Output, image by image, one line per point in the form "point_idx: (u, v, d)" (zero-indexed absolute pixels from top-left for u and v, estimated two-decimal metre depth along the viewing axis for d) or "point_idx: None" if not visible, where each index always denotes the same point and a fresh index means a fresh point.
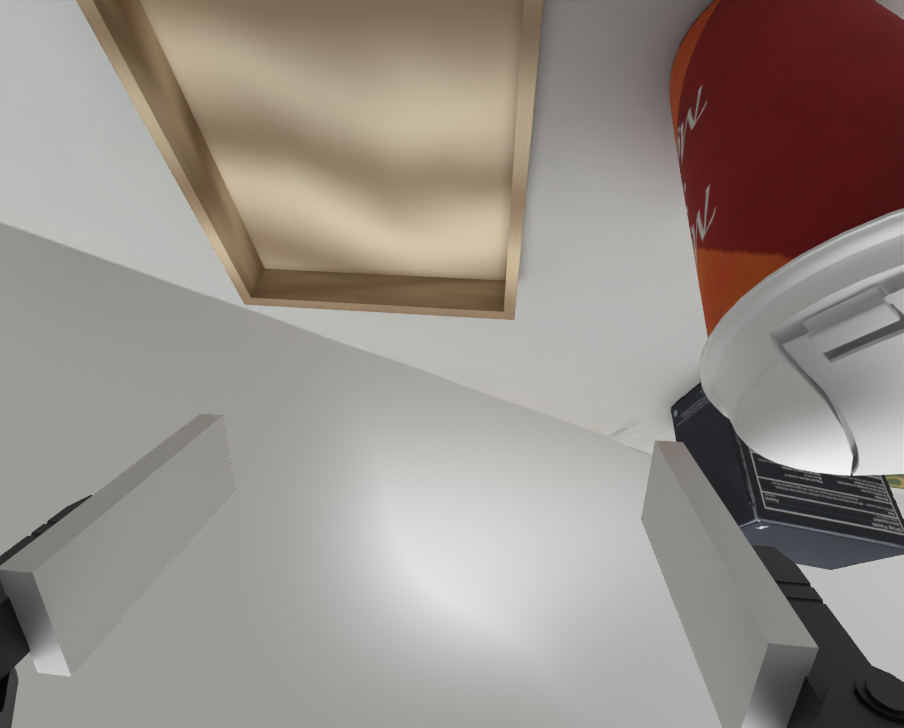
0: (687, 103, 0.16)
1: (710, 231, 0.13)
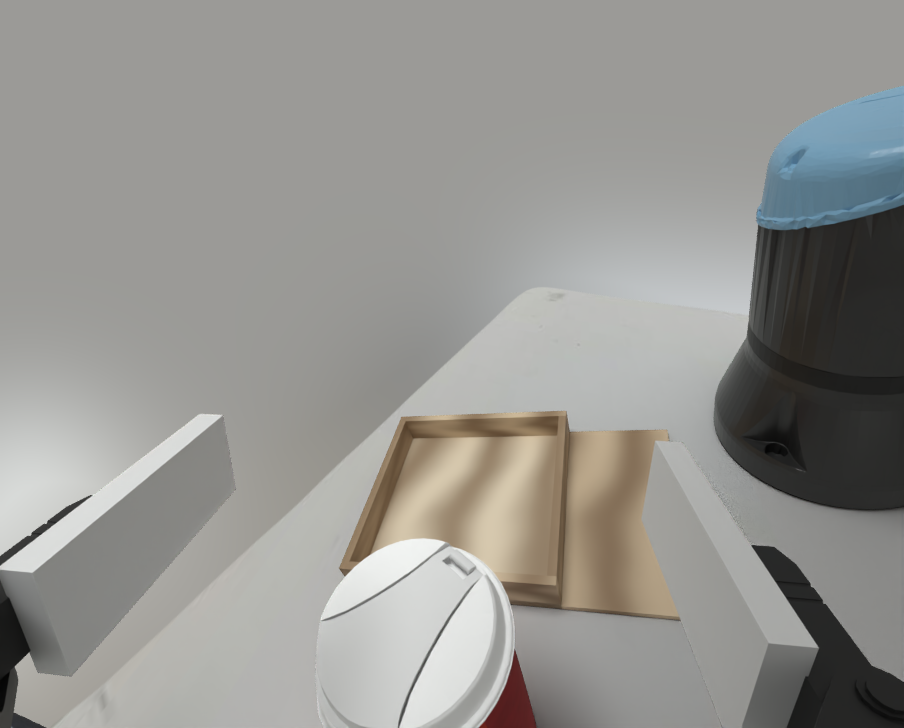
0: None
1: None
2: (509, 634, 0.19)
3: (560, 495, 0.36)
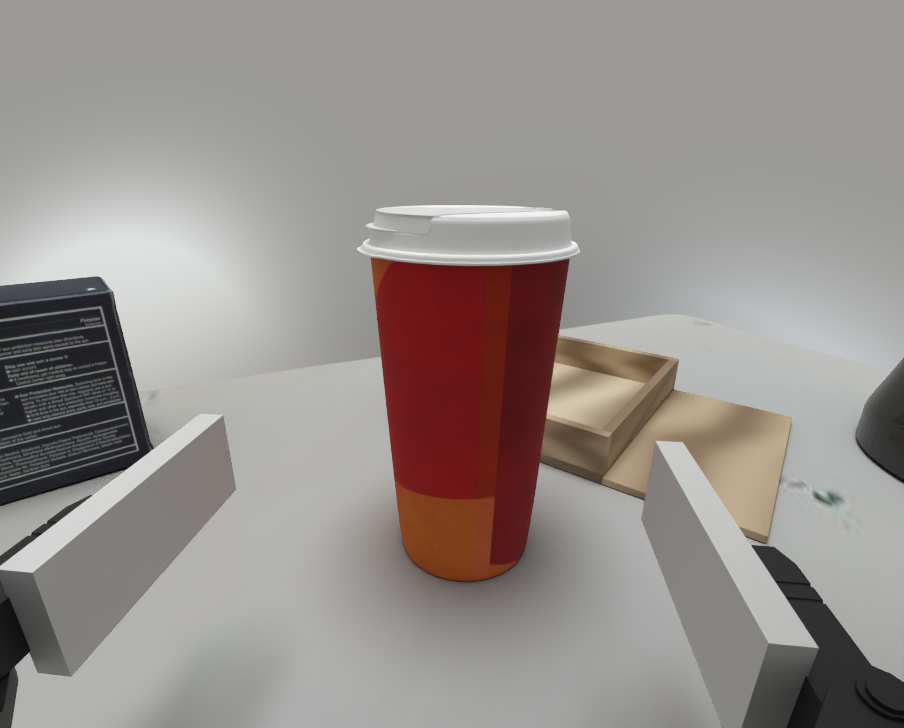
0: None
1: None
2: (570, 248, 0.17)
3: (644, 396, 0.32)
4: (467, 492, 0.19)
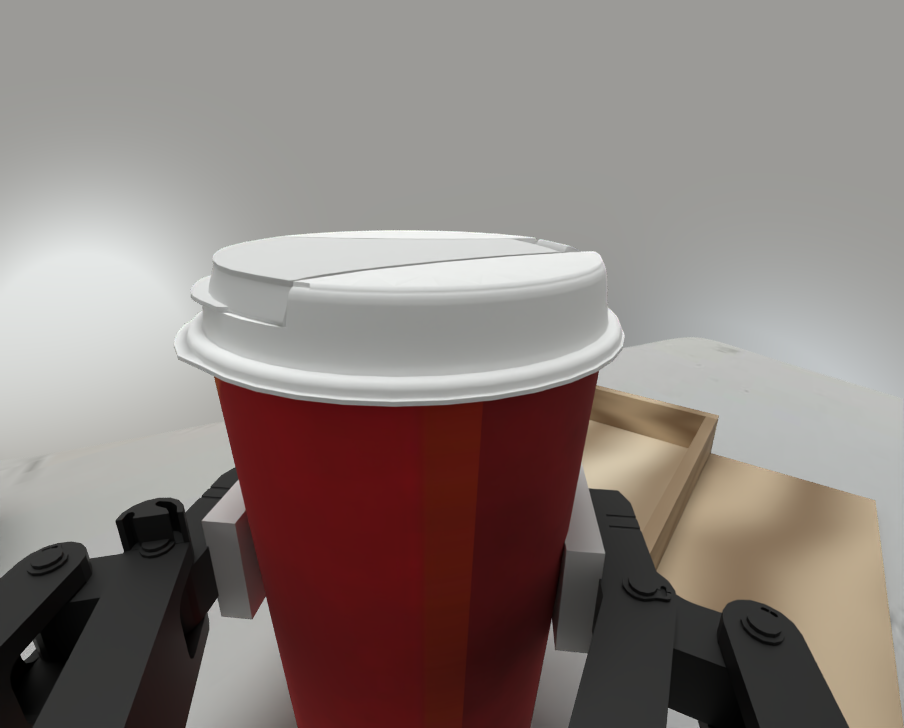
0: None
1: None
2: (610, 337, 0.08)
3: (683, 483, 0.23)
4: None
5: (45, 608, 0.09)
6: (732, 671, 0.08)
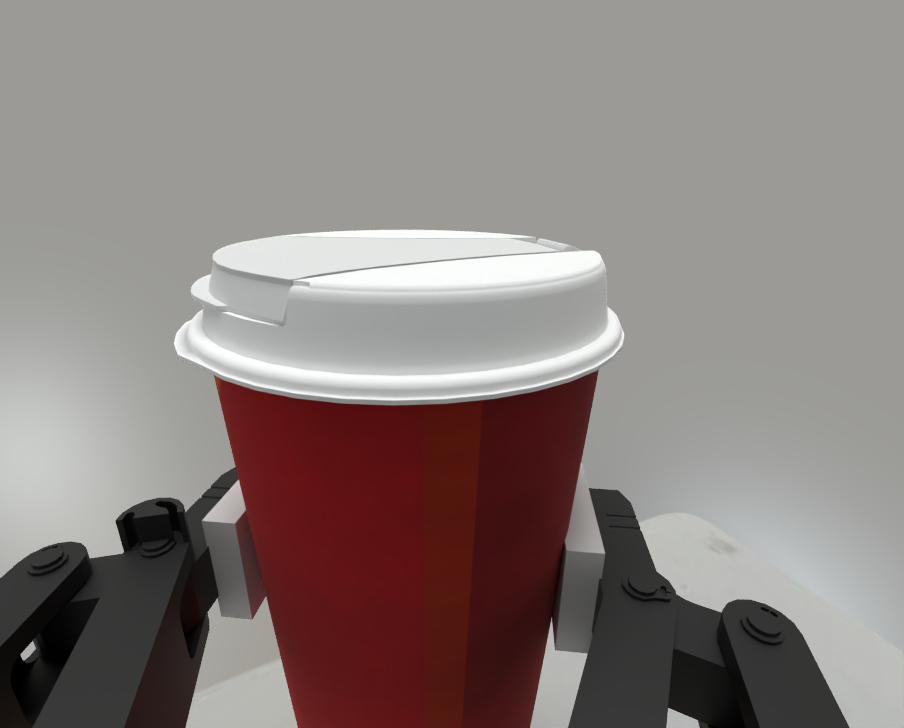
0: None
1: None
2: (610, 336, 0.08)
3: None
4: None
5: (45, 608, 0.09)
6: (732, 671, 0.08)
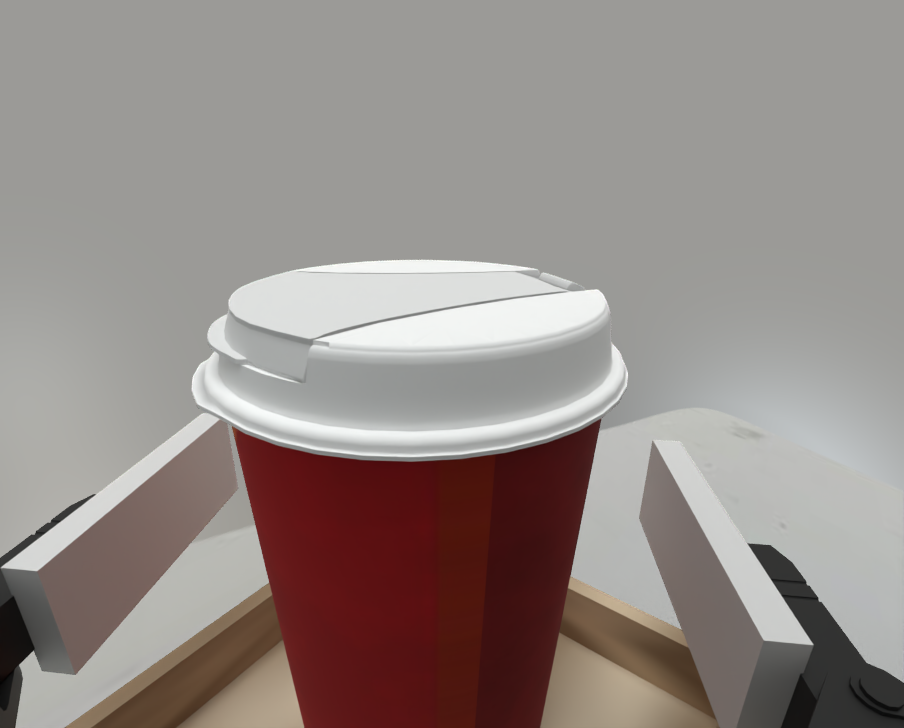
0: None
1: None
2: (615, 379, 0.08)
3: None
4: None
5: None
6: None
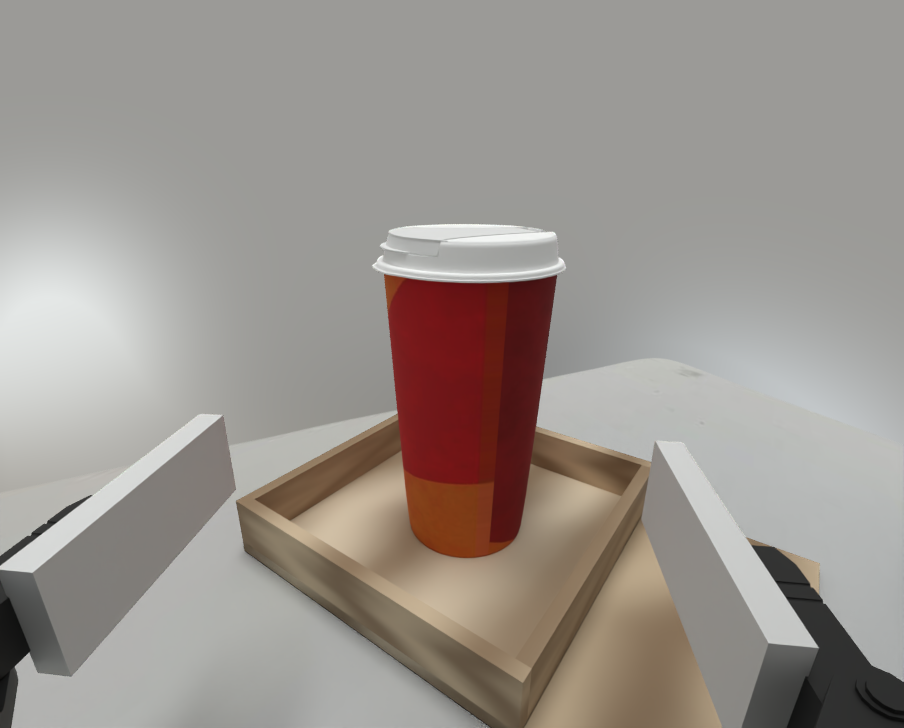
0: None
1: None
2: (558, 265, 0.20)
3: (598, 556, 0.21)
4: (469, 478, 0.22)
5: None
6: None
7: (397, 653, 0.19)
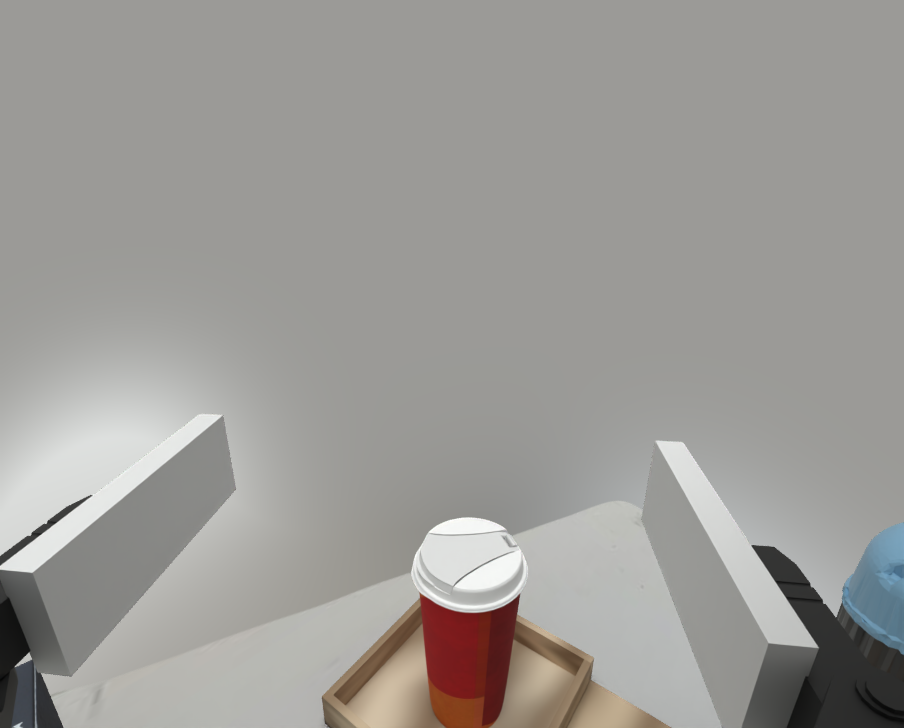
0: None
1: None
2: (521, 583, 0.33)
3: None
4: (469, 696, 0.35)
5: None
6: None
7: None
